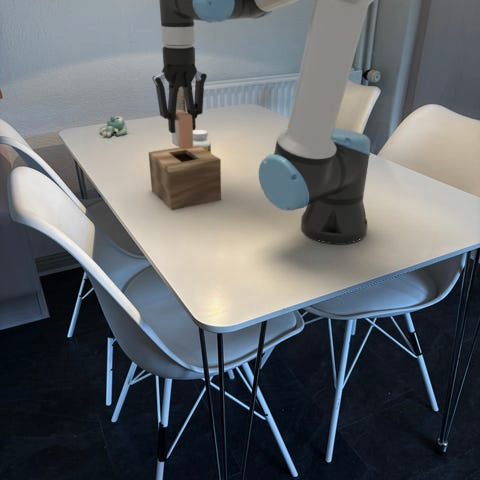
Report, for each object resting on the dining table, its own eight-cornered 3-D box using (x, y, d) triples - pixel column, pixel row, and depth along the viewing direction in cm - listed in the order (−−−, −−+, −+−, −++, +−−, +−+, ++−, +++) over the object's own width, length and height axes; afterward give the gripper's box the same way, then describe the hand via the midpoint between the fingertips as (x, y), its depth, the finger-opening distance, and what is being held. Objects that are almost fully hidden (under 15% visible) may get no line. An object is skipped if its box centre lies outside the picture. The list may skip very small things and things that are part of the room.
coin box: (221, 199, 131) (220, 159, 125) (171, 209, 125) (168, 168, 119) (198, 182, 141) (197, 144, 136) (151, 191, 135) (148, 152, 130)
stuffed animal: (89, 123, 176) (104, 109, 185) (94, 141, 181) (108, 126, 190) (117, 125, 174) (131, 111, 183) (121, 143, 178) (134, 128, 187)
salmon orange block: (192, 147, 125) (191, 115, 121) (181, 148, 124) (180, 117, 120) (183, 140, 130) (181, 110, 126) (172, 142, 128) (170, 111, 125)
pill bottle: (208, 174, 147) (207, 135, 142) (187, 172, 148) (185, 134, 143) (213, 166, 153) (212, 129, 147) (193, 165, 154) (192, 128, 148)
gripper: (202, 42, 122) (204, 135, 133) (139, 45, 115) (147, 144, 126) (216, 45, 116) (217, 143, 127) (151, 49, 109) (158, 152, 120)
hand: (182, 143), depth 126 cm, fingers closed on salmon orange block, 3 cm apart
